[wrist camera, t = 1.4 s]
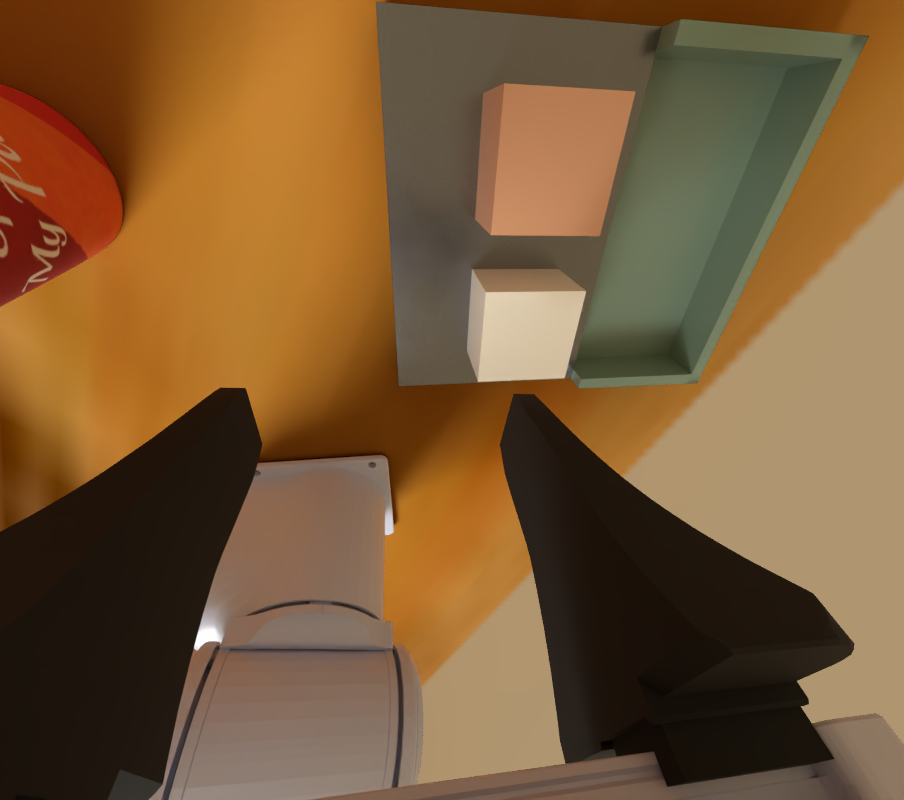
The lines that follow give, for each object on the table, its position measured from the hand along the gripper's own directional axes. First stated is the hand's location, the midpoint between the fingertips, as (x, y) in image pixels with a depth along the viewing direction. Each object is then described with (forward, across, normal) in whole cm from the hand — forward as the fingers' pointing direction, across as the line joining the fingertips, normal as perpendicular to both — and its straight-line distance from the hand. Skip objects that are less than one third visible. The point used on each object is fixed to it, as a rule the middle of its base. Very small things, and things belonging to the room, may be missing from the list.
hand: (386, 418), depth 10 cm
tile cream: (+8, -6, 0) cm, 10 cm away
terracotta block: (+8, -5, -6) cm, 11 cm away
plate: (+10, -5, -2) cm, 11 cm away
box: (+10, -13, -3) cm, 17 cm away
